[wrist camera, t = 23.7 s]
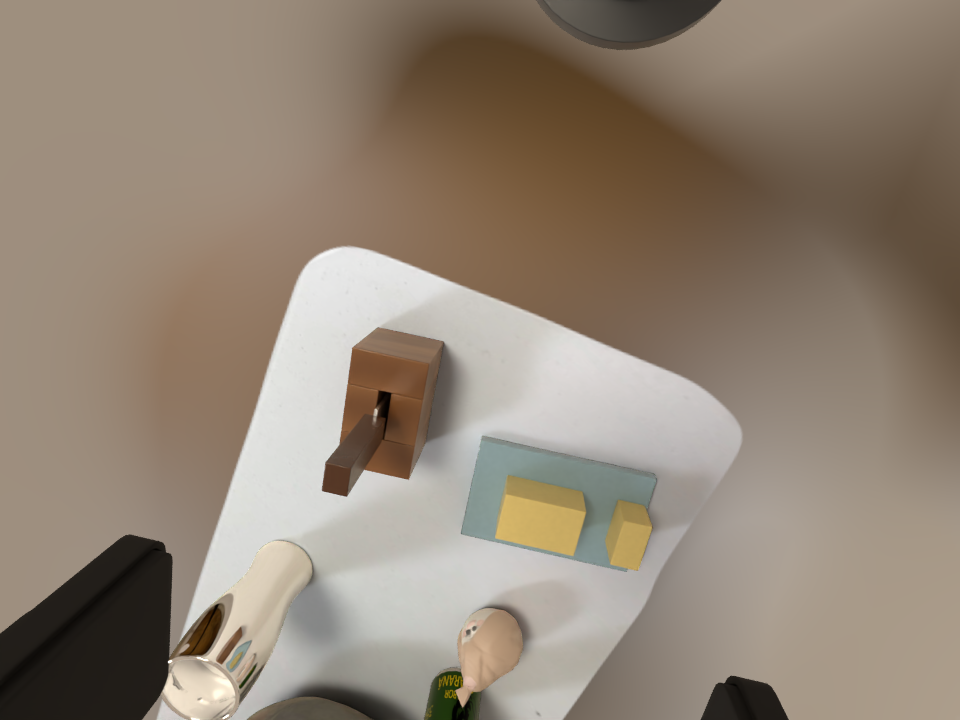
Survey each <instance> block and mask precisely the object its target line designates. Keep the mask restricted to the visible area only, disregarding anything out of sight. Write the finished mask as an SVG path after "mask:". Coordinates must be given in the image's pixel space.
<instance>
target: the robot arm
mask: <svg viewBox="0 0 960 720" xmlns="http://www.w3.org/2000/svg"><path fill="white" fill-rule="evenodd" d="M171 589H172V556H171V554H169V553H166V550H165V545H164V544H163V543H162V542H159V541H155V540H151V539H147V538H143V537H138V536H134V535H125V536H123V537H122V538H120V539H119V540H118V541H116V542H115V543H114V544H113V545H111V546H110V547H109V548H108V549H106V550H105V551H104V552H103V553H101V554H100V555H99V556H98V557H97V558H95V559H94V560H93V561H92V562H90V563H89V564H88V565H87V566H86V567H84V568H83V569H82V570H80V571H79V572H78V573H77V574H76V575H74V576H73V577H72V578H71V579H69V580H68V581H67V582H66V583H64V584H63V585H62V586H61V587H60V588H58V589H57V590H56V591H55V592H53V593H52V594H51V595H50V596H48V597H47V598H46V599H45V600H43V601H42V602H41V603H40V604H38V605H37V606H36V607H35V608H34V609H32V610H31V611H29V612H28V613H26V614H25V615H23V616H22V617H20V618H19V619H18V620H17V621H15V622H14V623H13V624H12V625H11V626H9V627H8V628H7V629H6V630H4V631H3V632H2V633H0V720H142V719H143V718H144V716H145V715H146V714H147V712H148V711H149V710H150V708H151V707H152V706H153V704H154V703H155V702H156V700H157V699H158V697H159V696H160V695H161V693H162V691H163V689H164V687H165V684H166V682H167V678H168V673H169V646H170V644H169V643H170V618H171V615H170V614H171ZM701 720H789V719H788V718H787V715H786V713H785V711H784V709H783V707H782V705H781V703H780V701H779V699H778V697H777V695H776V693H775V692H774V690H773V689H772V687H771V686H770V685H768V684H766V683H762V682H758V681H753V680H749V679H745V678H740V677H736V676H730V677H729V678H727V680H726V682H725V683H718V684H716V686H715V688H714V690H713V692H712V694H711V697H710V699H709V702H708V704H707V706H706V709H705V711H704V713H703V716H702V718H701Z"/></svg>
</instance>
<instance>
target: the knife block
mask: <svg viewBox="0 0 960 720" xmlns="http://www.w3.org/2000/svg"><path fill="white" fill-rule="evenodd" d="M443 344H444V342H443V341H439V340H434V339H430V338H425V337H420V336H416V335H411V334H407V333H402V332H397V331H393V330H388V329H383V328H379V327H378V328H376V329H375V330H374V331H373V332H371V333H370V334H369V335H368V336H366V337H365V338H364V339H363V340H361V341H360V342H359V343H358V344H356V345H355V346H354V347H353V348H352V355H351V363H350V370H349V378H348V385H347V392H346V400H345V407H344V415H343V422H342V430H341V437H340V444H341V443H342V442H343V440H344V439H345V438H346V437H347V435H348V434H349V433H350V432H351V430H352V429H353V428H354V427H355V425H356V424H357V423H358V422H359V420H360V419H361V418H362V417H363V415H364V414H369V415H374V409H375V408H376V407H377V405H378V404H379V403H380V401H381V400H382V399H383V398H384V396H385V395H386V394H387V392H389V393H392V394H391V400H390V407H389V413H388V419H387V425H386V427H385V428H384V432H383V438H382V442H381V444H380V445H379V447H378V449H377V450H376V452H375V453H374V455H373V456H372V458H371V460H370V461H369V463H368V464H367V466H366V467H365V469H364V470H368V471H372V472H377V473H381V474H386V475H390V476H395V477H399V478H403V479H408V480H409V478H410V476H411V474H412V472H413V469H414V467H415V465H416V463H417V460H418V458H419V456H420V454H421V452H422V449H423V447H424V445H425V442H426V437H427V431H428V426H429V420H430V414H431V409H432V404H433V399H434V393H435V388H436V382H437V377H438V371H439V366H440V360H441V355H442V349H443Z"/></svg>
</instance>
